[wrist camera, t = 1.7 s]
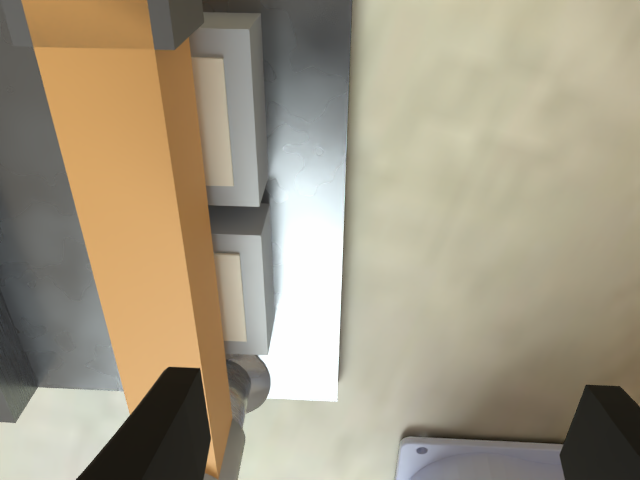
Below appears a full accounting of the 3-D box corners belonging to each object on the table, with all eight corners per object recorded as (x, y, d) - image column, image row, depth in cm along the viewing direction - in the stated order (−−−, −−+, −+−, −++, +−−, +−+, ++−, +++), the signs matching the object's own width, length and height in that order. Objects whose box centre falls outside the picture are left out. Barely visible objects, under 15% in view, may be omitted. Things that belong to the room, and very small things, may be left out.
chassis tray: (352, -11, 16) (351, 13, 13) (337, 402, 25) (334, 471, 22) (-124, -20, 16) (-229, 2, 13) (34, 387, 26) (-8, 453, 23)
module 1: (260, 13, 15) (248, 29, 14) (268, 176, 18) (258, 208, 16) (83, 9, 16) (48, 25, 14) (116, 171, 18) (91, 202, 16)
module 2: (269, 203, 19) (260, 237, 17) (275, 318, 21) (267, 357, 20) (122, 198, 19) (98, 231, 17) (146, 312, 22) (127, 351, 20)
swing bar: (247, 464, 22) (233, 540, 19) (166, 459, 22) (142, 534, 19) (196, -56, 12) (154, -40, 9) (51, -58, 12) (-29, -42, 10)
